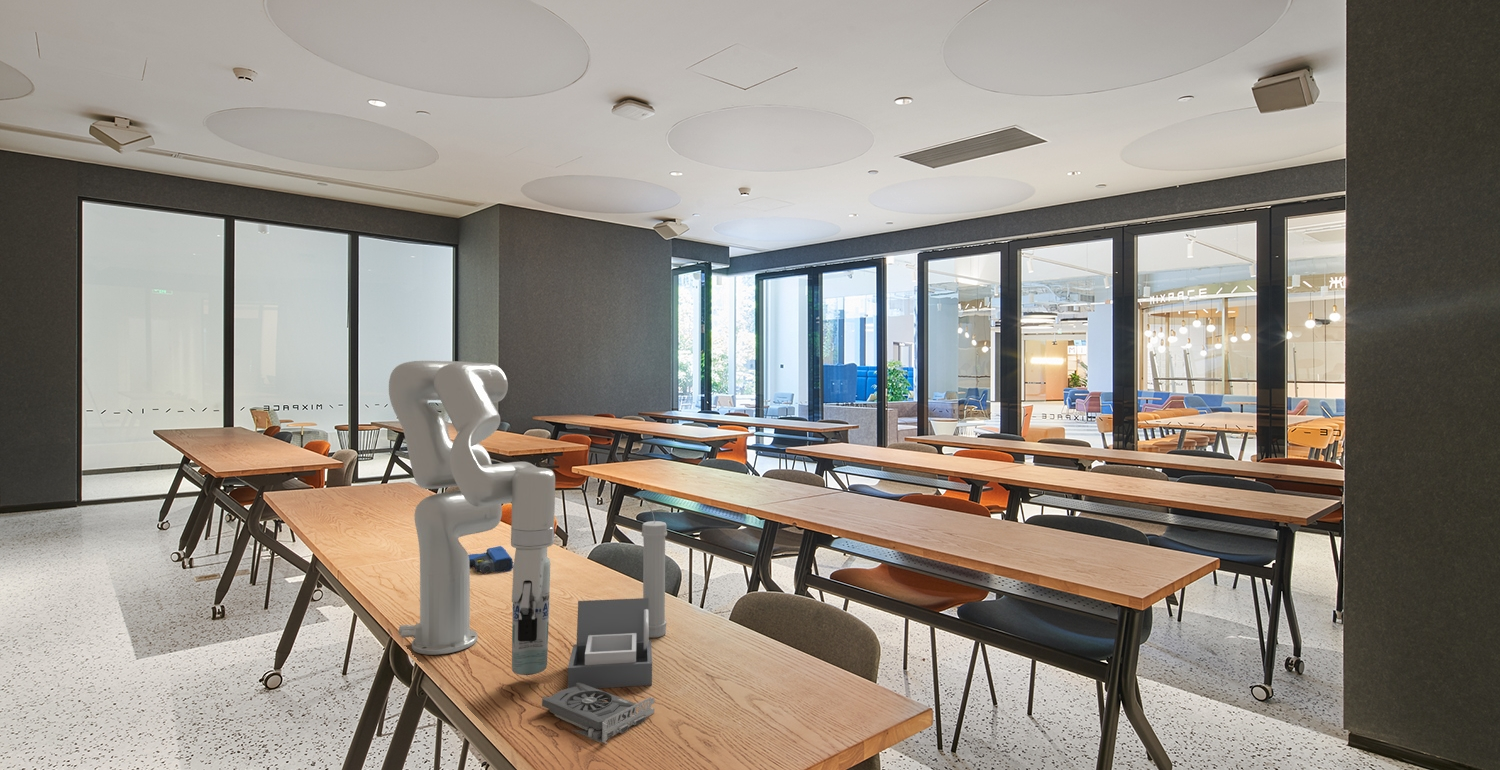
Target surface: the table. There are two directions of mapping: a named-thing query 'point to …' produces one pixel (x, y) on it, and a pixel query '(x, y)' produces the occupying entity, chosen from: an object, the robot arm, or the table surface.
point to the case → (612, 644)
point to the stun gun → (491, 560)
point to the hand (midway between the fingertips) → (530, 631)
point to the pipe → (654, 574)
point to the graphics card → (596, 711)
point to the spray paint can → (534, 653)
